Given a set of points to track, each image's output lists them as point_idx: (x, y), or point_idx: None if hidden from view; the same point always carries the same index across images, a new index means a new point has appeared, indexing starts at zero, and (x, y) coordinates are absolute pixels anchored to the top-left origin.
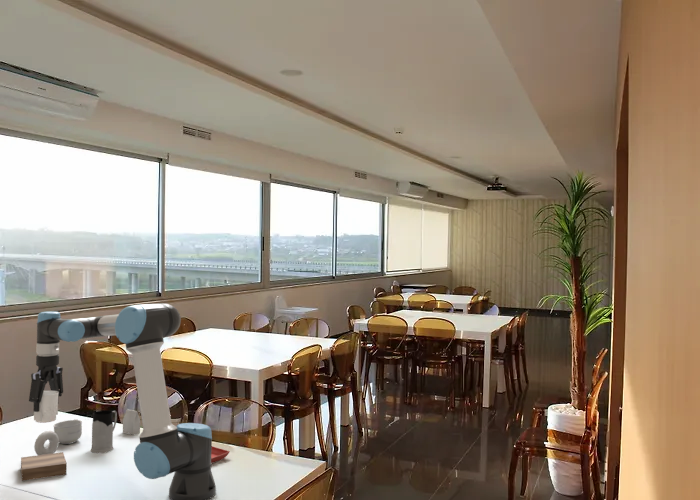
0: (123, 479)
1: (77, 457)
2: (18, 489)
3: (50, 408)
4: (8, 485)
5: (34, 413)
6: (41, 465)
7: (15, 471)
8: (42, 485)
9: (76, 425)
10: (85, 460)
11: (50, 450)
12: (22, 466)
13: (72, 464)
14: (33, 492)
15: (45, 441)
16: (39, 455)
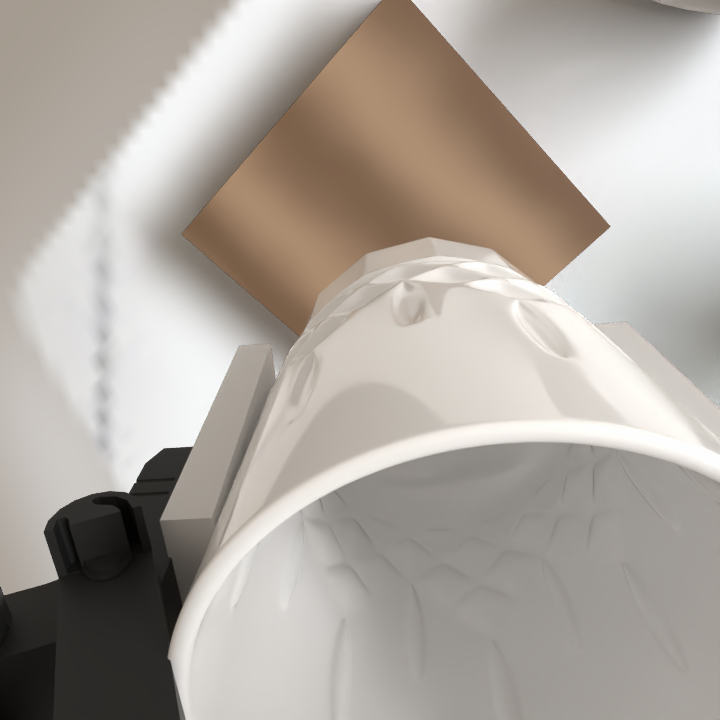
0: None
1: (710, 227)
2: (94, 303)
3: (366, 611)
4: (108, 194)
5: (220, 398)
6: (300, 297)
7: (326, 9)
8: (201, 381)
9: None
10: (657, 321)
11: (717, 5)
12: (228, 183)
13: (565, 296)
14: (105, 409)
15: None
16: (487, 104)
